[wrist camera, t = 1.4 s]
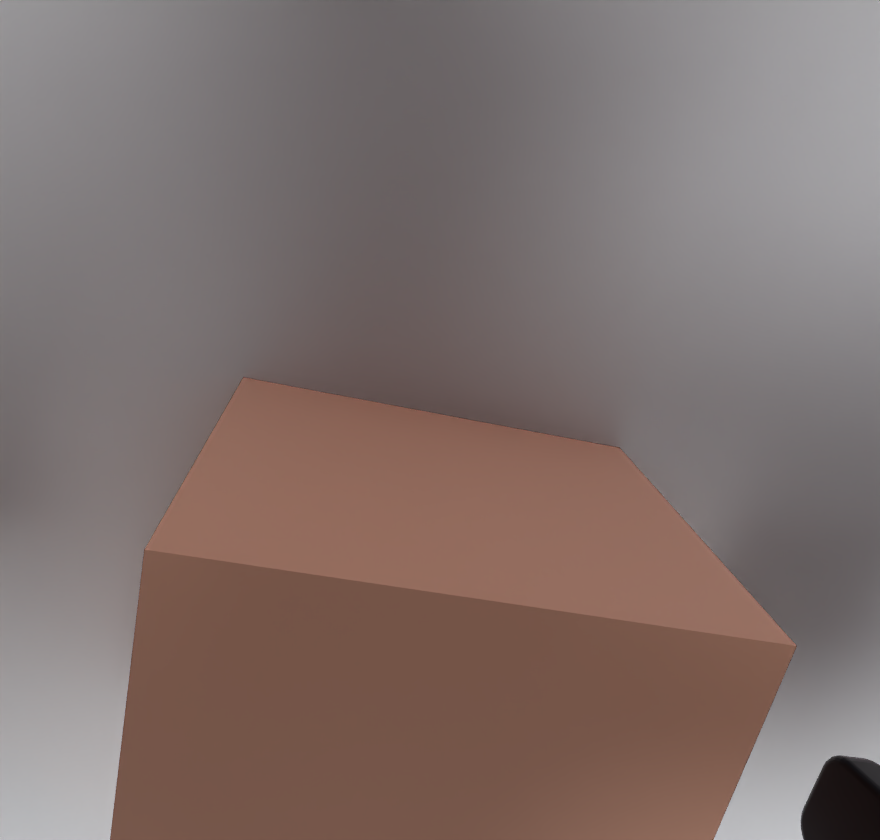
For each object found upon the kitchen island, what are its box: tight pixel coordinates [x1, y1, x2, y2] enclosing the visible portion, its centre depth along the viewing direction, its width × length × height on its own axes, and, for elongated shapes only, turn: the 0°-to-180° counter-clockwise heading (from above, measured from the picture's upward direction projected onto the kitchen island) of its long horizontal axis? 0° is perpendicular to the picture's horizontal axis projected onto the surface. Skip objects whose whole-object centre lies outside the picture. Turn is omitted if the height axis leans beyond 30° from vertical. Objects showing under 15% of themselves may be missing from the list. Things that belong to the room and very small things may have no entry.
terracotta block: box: [110, 377, 797, 840], centre depth 8 cm, size 5×5×4 cm
